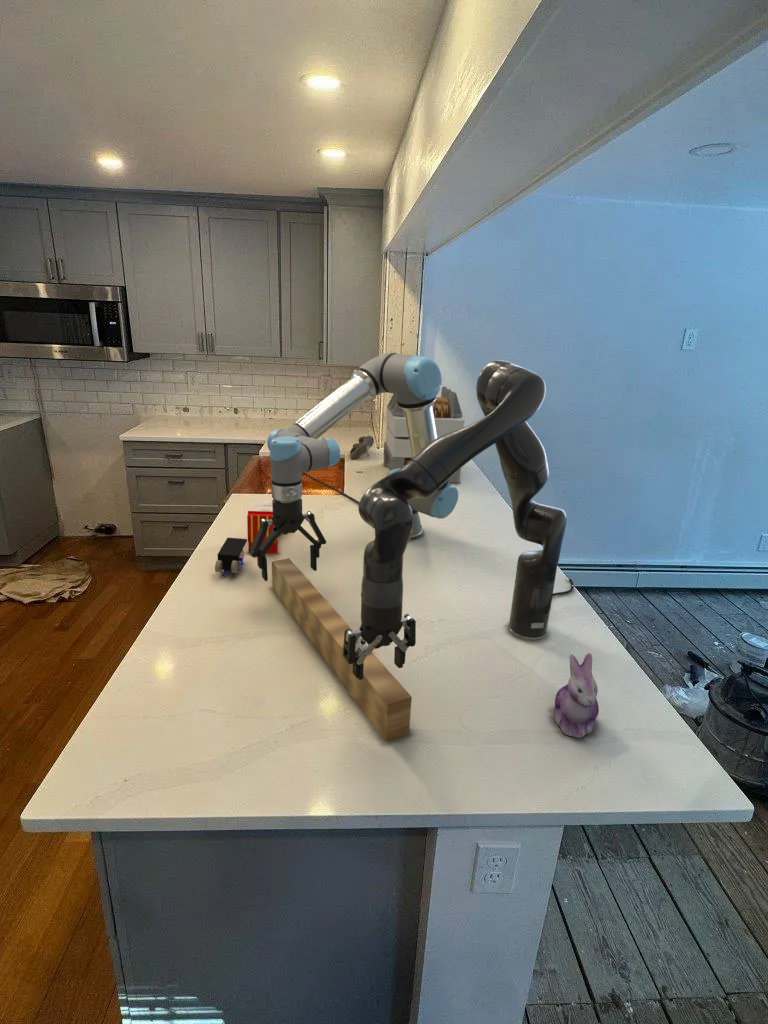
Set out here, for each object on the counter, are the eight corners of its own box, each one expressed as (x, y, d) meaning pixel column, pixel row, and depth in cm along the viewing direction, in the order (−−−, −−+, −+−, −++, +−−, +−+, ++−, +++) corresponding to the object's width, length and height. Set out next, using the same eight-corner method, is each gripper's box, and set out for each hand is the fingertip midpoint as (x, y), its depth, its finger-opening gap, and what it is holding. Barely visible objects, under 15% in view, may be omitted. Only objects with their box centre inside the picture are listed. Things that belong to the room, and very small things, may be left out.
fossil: (349, 442, 312) (371, 426, 307) (360, 455, 315) (381, 440, 310) (343, 455, 293) (366, 439, 288) (355, 470, 296) (377, 454, 291)
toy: (293, 496, 204) (280, 513, 174) (293, 532, 206) (280, 555, 177) (259, 495, 203) (240, 512, 174) (259, 531, 206) (241, 554, 177)
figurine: (577, 747, 104) (590, 678, 99) (539, 713, 113) (549, 648, 108) (613, 732, 109) (628, 665, 104) (573, 700, 117) (585, 637, 112)
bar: (272, 588, 158) (271, 560, 155) (289, 585, 160) (289, 557, 157) (385, 742, 104) (387, 704, 101) (409, 733, 106) (411, 696, 103)
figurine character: (238, 584, 162) (249, 557, 175) (236, 562, 158) (247, 536, 172) (215, 584, 161) (227, 556, 175) (212, 561, 158) (225, 535, 171)
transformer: (382, 463, 289) (386, 382, 275) (445, 464, 293) (451, 384, 279) (390, 482, 257) (394, 392, 243) (460, 483, 261) (468, 394, 247)
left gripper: (242, 510, 135) (247, 589, 142) (338, 496, 146) (338, 570, 153) (234, 500, 141) (239, 577, 148) (326, 487, 152) (327, 559, 160)
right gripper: (355, 615, 96) (353, 693, 102) (426, 597, 103) (421, 672, 108) (337, 595, 102) (336, 670, 108) (405, 580, 109) (401, 652, 115)
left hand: (289, 573), depth 151 cm, fingers open, 13 cm apart
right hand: (379, 671), depth 108 cm, fingers open, 8 cm apart
